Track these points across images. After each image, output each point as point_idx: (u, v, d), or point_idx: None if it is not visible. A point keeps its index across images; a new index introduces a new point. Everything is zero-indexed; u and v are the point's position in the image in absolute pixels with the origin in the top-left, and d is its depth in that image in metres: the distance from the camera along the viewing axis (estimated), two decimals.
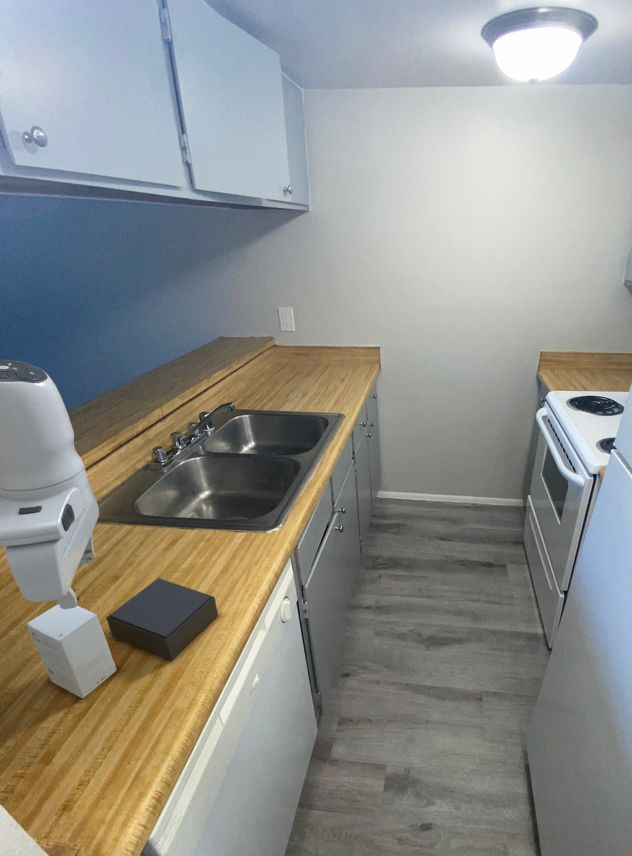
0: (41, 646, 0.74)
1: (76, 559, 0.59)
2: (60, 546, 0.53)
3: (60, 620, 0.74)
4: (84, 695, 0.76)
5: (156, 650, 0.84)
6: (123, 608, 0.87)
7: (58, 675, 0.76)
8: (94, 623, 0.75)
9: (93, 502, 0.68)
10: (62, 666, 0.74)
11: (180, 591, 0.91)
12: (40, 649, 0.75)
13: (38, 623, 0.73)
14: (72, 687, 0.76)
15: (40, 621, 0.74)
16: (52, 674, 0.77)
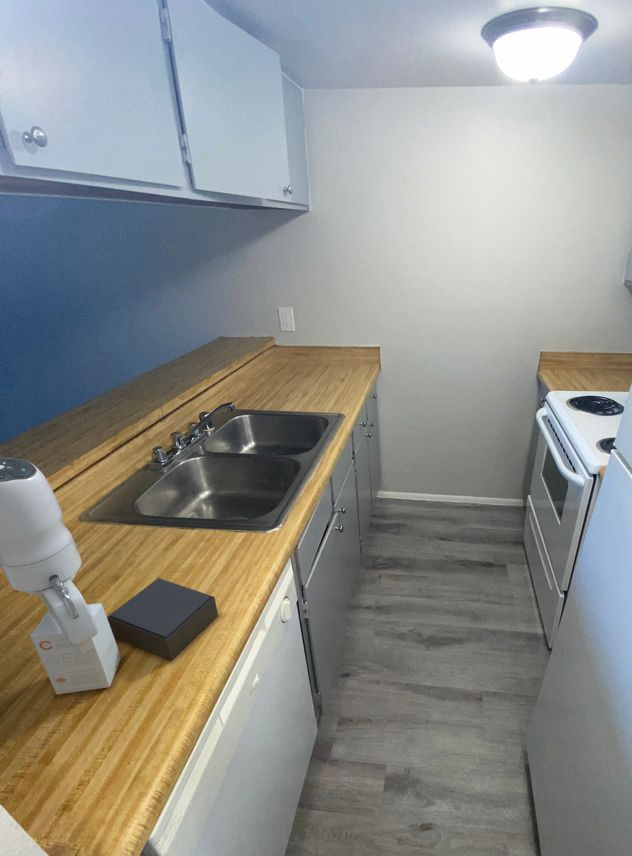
0: (53, 653, 0.73)
1: (41, 599, 0.73)
2: None
3: None
4: (109, 683, 0.78)
5: (156, 650, 0.84)
6: (123, 608, 0.87)
7: (74, 677, 0.76)
8: (102, 611, 0.77)
9: (62, 628, 0.66)
10: (85, 661, 0.75)
11: (180, 591, 0.91)
12: (49, 658, 0.73)
13: (45, 631, 0.72)
14: (95, 681, 0.77)
15: (44, 629, 0.72)
16: (63, 682, 0.76)
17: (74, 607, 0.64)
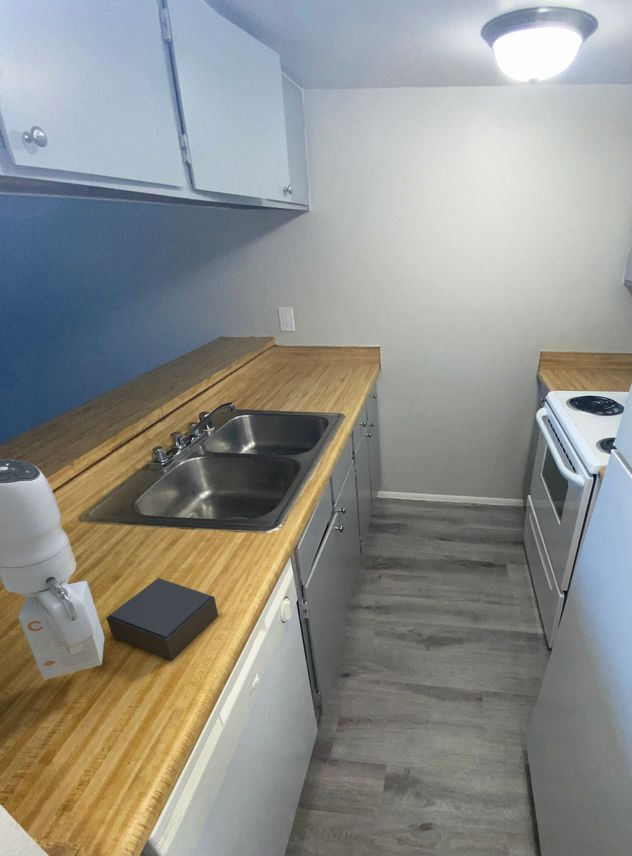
0: (42, 634, 0.70)
1: None
2: None
3: None
4: (101, 661, 0.77)
5: (156, 650, 0.84)
6: (123, 608, 0.87)
7: (65, 658, 0.74)
8: (88, 589, 0.76)
9: (58, 630, 0.66)
10: None
11: (180, 591, 0.91)
12: (38, 640, 0.71)
13: (33, 611, 0.69)
14: (87, 660, 0.75)
15: (32, 609, 0.70)
16: (51, 665, 0.73)
17: (73, 609, 0.65)
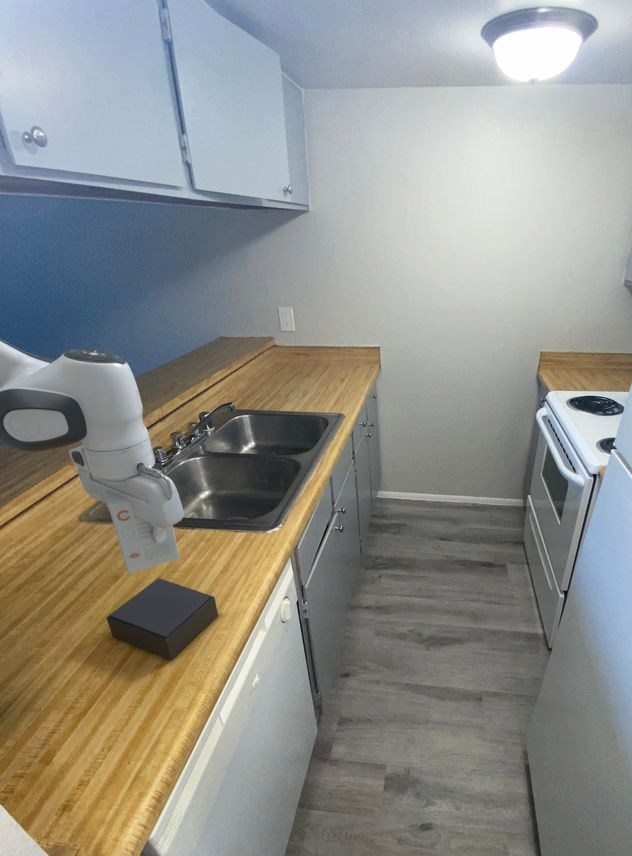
0: (129, 524, 0.74)
1: None
2: (77, 466, 0.75)
3: None
4: (178, 555, 0.81)
5: (156, 650, 0.84)
6: (123, 608, 0.87)
7: (148, 551, 0.77)
8: None
9: (154, 511, 0.70)
10: None
11: (180, 591, 0.91)
12: (126, 531, 0.74)
13: (120, 501, 0.73)
14: (167, 552, 0.80)
15: (118, 500, 0.73)
16: (136, 558, 0.77)
17: (170, 486, 0.69)
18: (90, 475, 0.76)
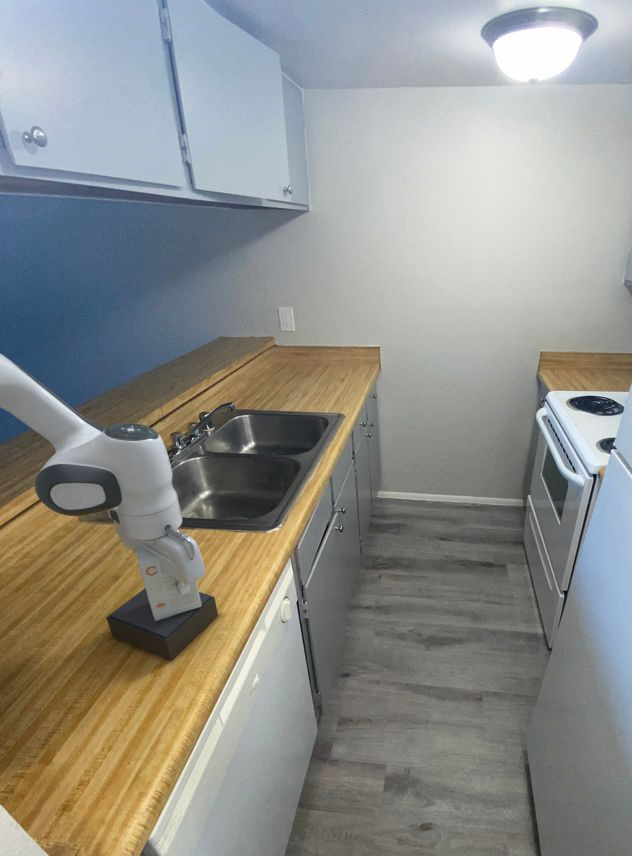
0: (157, 578, 0.81)
1: None
2: (114, 521, 0.83)
3: None
4: None
5: (156, 650, 0.84)
6: (123, 608, 0.87)
7: (173, 600, 0.84)
8: None
9: (179, 569, 0.77)
10: None
11: None
12: (153, 584, 0.81)
13: (149, 558, 0.80)
14: (190, 601, 0.86)
15: (147, 557, 0.80)
16: (162, 607, 0.84)
17: (193, 549, 0.76)
18: None
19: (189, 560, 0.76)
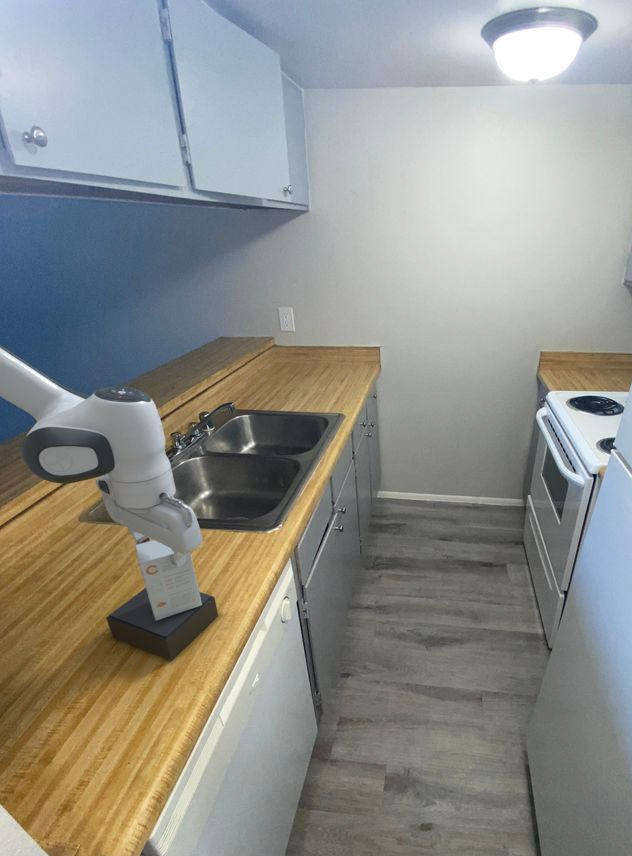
0: (157, 577, 0.81)
1: (131, 525, 0.80)
2: (103, 493, 0.79)
3: (163, 547, 0.82)
4: None
5: (156, 650, 0.84)
6: (123, 608, 0.87)
7: (173, 600, 0.84)
8: None
9: (175, 538, 0.75)
10: (184, 581, 0.84)
11: None
12: (154, 583, 0.81)
13: (149, 557, 0.80)
14: (191, 600, 0.86)
15: (147, 556, 0.80)
16: (163, 606, 0.84)
17: (191, 515, 0.74)
18: (114, 501, 0.80)
19: (186, 527, 0.74)
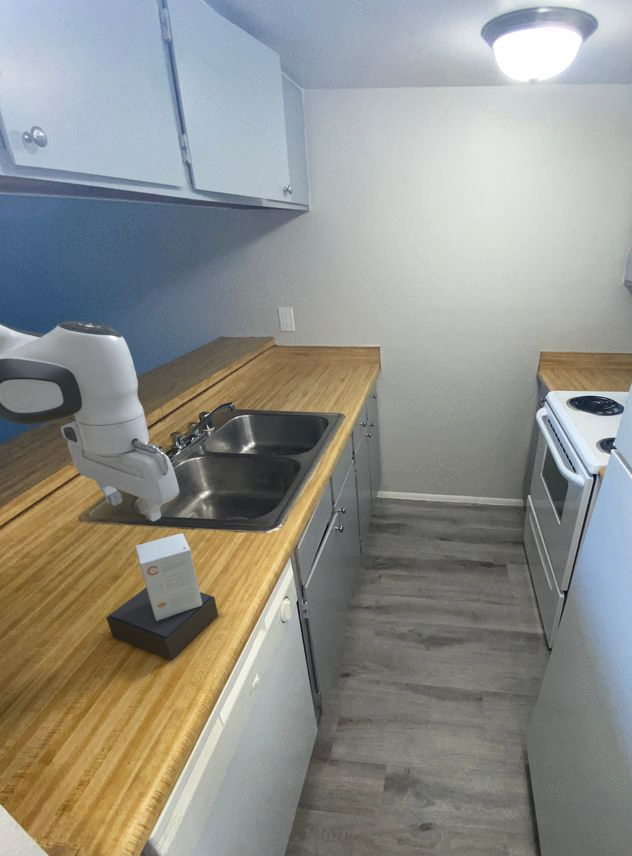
0: (158, 578, 0.81)
1: (101, 478, 0.75)
2: (69, 443, 0.74)
3: (163, 547, 0.82)
4: (201, 602, 0.88)
5: (156, 650, 0.84)
6: (123, 608, 0.87)
7: (174, 600, 0.84)
8: None
9: (150, 487, 0.70)
10: (184, 581, 0.84)
11: None
12: (154, 584, 0.81)
13: (150, 557, 0.80)
14: (191, 600, 0.86)
15: (148, 556, 0.80)
16: (163, 607, 0.84)
17: (166, 462, 0.69)
18: (82, 452, 0.75)
19: (162, 475, 0.70)
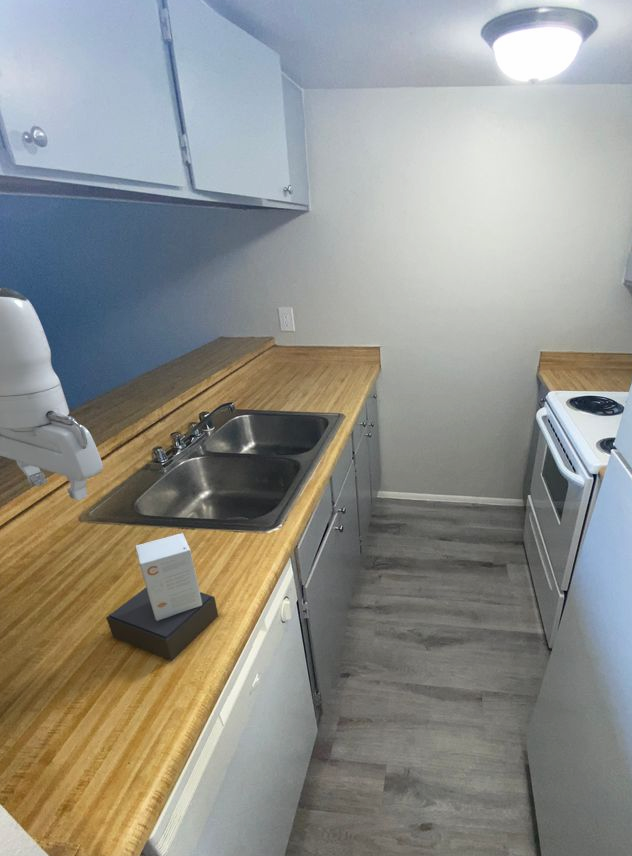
0: (158, 578, 0.81)
1: (19, 456, 0.71)
2: None
3: (164, 547, 0.82)
4: (201, 602, 0.88)
5: (156, 650, 0.84)
6: (123, 608, 0.87)
7: (174, 600, 0.84)
8: None
9: (68, 461, 0.66)
10: (184, 581, 0.84)
11: None
12: (154, 584, 0.81)
13: (150, 557, 0.80)
14: (191, 600, 0.86)
15: (148, 556, 0.80)
16: (163, 607, 0.84)
17: (84, 434, 0.65)
18: None
19: (80, 449, 0.66)
